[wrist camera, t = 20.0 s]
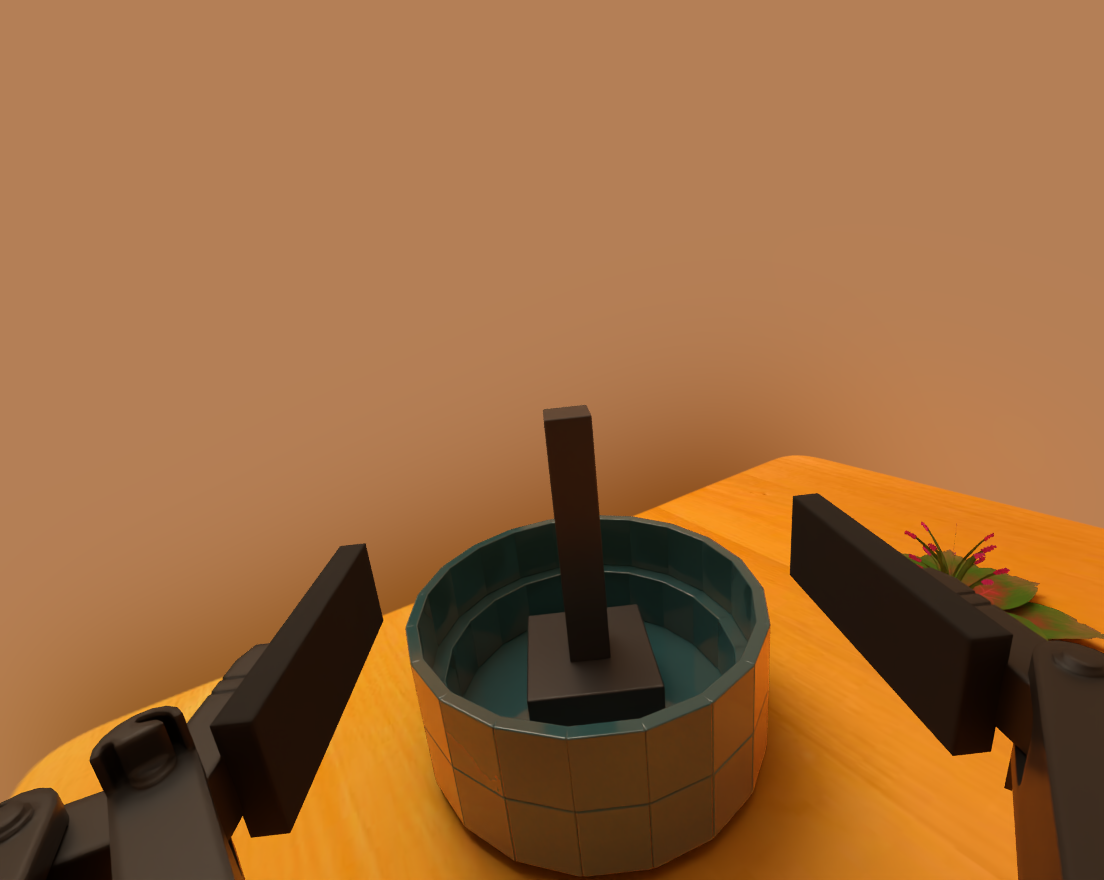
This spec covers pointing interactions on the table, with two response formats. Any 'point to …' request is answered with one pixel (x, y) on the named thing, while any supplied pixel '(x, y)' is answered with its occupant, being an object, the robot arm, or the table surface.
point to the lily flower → (1003, 591)
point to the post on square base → (585, 604)
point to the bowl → (601, 748)
